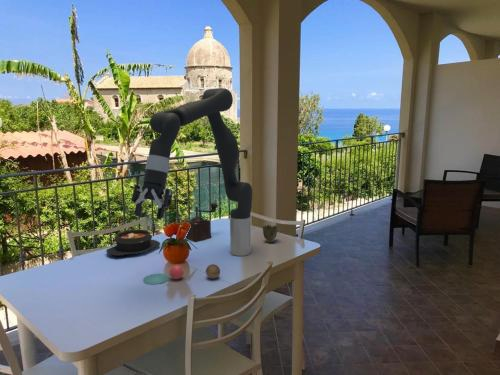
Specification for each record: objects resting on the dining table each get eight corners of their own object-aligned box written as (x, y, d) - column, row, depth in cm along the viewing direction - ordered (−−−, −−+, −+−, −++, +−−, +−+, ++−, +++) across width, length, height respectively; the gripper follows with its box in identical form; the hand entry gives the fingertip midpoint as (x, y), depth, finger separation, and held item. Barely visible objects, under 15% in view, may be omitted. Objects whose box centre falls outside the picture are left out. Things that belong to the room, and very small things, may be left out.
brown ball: (206, 275, 153) (206, 262, 152) (220, 275, 153) (220, 262, 152) (205, 281, 147) (205, 267, 146) (219, 280, 147) (219, 267, 146)
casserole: (117, 263, 166) (115, 244, 164) (100, 252, 179) (98, 235, 178) (167, 249, 183) (167, 232, 181) (148, 240, 196) (148, 224, 195)
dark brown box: (195, 242, 193) (194, 207, 189) (183, 237, 200) (182, 204, 197) (220, 236, 203) (219, 202, 200) (207, 231, 211) (206, 199, 208)
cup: (279, 240, 195) (279, 225, 193) (274, 245, 188) (274, 229, 187) (265, 238, 198) (266, 223, 196) (260, 243, 191) (260, 227, 190)
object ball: (171, 276, 152) (170, 262, 151) (185, 275, 152) (184, 262, 151) (168, 281, 147) (168, 268, 146) (183, 281, 147) (182, 268, 146)
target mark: (146, 274, 154) (146, 273, 154) (171, 273, 154) (171, 273, 154) (140, 284, 144) (140, 284, 144) (167, 284, 144) (166, 283, 144)
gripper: (180, 174, 131) (172, 221, 130) (146, 170, 136) (137, 215, 135) (168, 170, 124) (159, 220, 123) (132, 166, 129) (123, 213, 128)
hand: (148, 217), depth 129 cm, fingers open, 8 cm apart
